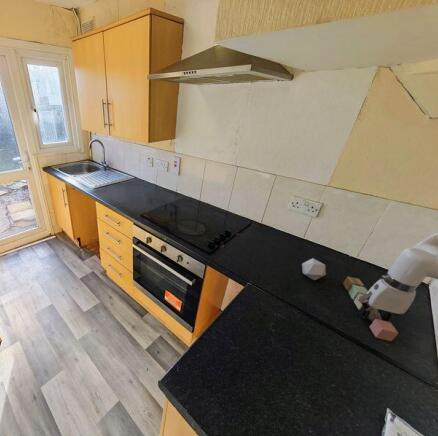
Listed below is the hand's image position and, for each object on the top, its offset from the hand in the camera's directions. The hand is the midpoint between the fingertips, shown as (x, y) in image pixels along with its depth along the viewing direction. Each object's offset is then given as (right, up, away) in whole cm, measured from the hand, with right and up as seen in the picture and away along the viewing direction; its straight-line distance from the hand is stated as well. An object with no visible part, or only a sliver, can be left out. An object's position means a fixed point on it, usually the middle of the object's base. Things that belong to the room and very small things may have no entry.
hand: (372, 318), depth 84 cm
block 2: (+4, +4, +10) cm, 12 cm away
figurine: (0, -1, +1) cm, 1 cm away
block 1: (+5, +7, +15) cm, 17 cm away
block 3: (+2, +2, +6) cm, 6 cm away
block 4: (-2, -3, -5) cm, 6 cm away
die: (-8, +10, +21) cm, 25 cm away
